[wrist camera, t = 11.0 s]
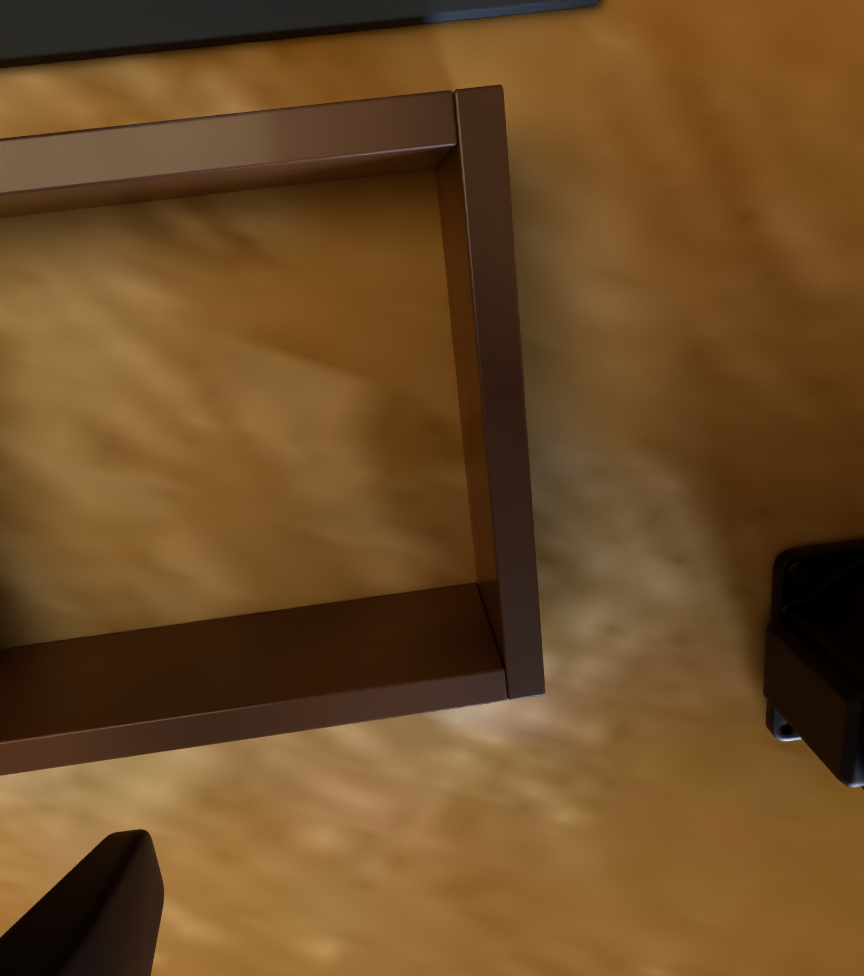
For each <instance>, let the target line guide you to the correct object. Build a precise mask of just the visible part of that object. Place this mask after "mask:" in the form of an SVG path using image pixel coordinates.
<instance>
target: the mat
mask: <svg viewBox="0 0 864 976" xmlns="http://www.w3.org/2000/svg"><path fill="white" fill-rule="evenodd" d="M598 1H599V0H0V67H8V66H18V65H28V64H37V63H47V62H57V61H66V60H76V59H86V58H95V57H105V56H115V55H124V54H134V53H144V52H153V51H163V50H173V49H182V48H192V47H202V46H211V45H221V44H231V43H241V42H250V41H260V40H270V39H279V38H289V37H299V36H308V35H318V34H328V33H337V32H347V31H357V30H366V29H376V28H386V27H395V26H405V25H415V24H424V23H434V22H444V21H453V20H463V19H473V18H482V17H492V16H502V15H511V14H521V13H531V12H540V11H550V10H560V9H569V8H579V7H589V6H594V5H595V4H596V3H597V2H598Z"/></svg>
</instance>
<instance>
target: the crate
mask: <svg viewBox="0 0 864 976" xmlns="http://www.w3.org/2000/svg"><path fill="white" fill-rule="evenodd" d="M435 167H436V176H437V186H438V196H439V206H440V216H441V226H442V236H443V246H444V256H445V266H446V276H447V286H448V296H449V306H450V316H451V326H452V336H453V346H454V356H455V366H456V376H457V386H458V396H459V406H460V416H461V426H462V436H463V446H464V456H465V466H466V476H467V486H468V496H469V506H470V516H471V526H472V536H473V546H474V556H475V566H476V576H477V584H476V583H473V584H466V585H459V586H452V587H445V588H437V589H430V590H423V591H416V592H409V593H402V594H395V595H387V596H380V597H373V598H366V599H359V600H352V601H345V602H337V603H330V604H323V605H316V606H309V607H302V608H295V609H287V610H280V611H273V612H266V613H259V614H252V615H245V616H237V617H230V618H223V619H216V620H209V621H202V622H195V623H187V624H180V625H173V626H166V627H159V628H152V629H145V630H137V631H130V632H123V633H116V634H109V635H102V636H95V637H87V638H80V639H73V640H66V641H59V642H52V643H45V644H37V645H30V646H23V647H16V648H9V649H2V650H0V776H1V775H8V774H14V773H21V772H28V771H35V770H42V769H48V768H55V767H62V766H69V765H75V764H82V763H89V762H96V761H102V760H109V759H116V758H123V757H129V756H136V755H143V754H150V753H156V752H163V751H170V750H177V749H184V748H190V747H197V746H204V745H211V744H217V743H224V742H231V741H238V740H244V739H251V738H258V737H265V736H271V735H278V734H285V733H292V732H298V731H305V730H312V729H319V728H325V727H332V726H339V725H346V724H353V723H359V722H366V721H373V720H380V719H386V718H393V717H400V716H407V715H413V714H420V713H427V712H434V711H440V710H447V709H454V708H461V707H467V706H474V705H481V704H488V703H494V702H501V701H506V700H507V698H508V699H509V700H514V699H521V698H528V697H534V696H541V695H544V694H545V681H544V666H543V652H542V637H541V623H540V609H539V594H538V580H537V566H536V551H535V537H534V522H533V508H532V494H531V479H530V465H529V450H528V436H527V422H526V407H525V393H524V379H523V364H522V350H521V335H520V321H519V307H518V292H517V278H516V264H515V249H514V235H513V220H512V206H511V192H510V177H509V163H508V148H507V134H506V120H505V105H504V91H503V87H502V86H501V85H493V86H484V87H475V88H465V89H457V90H455V91H454V92H452V91H450V90H447V91H437V92H428V93H419V94H410V95H400V96H391V97H382V98H372V99H363V100H354V101H345V102H335V103H326V104H317V105H308V106H298V107H289V108H280V109H271V110H261V111H252V112H243V113H233V114H224V115H215V116H206V117H196V118H187V119H178V120H169V121H159V122H150V123H141V124H131V125H122V126H113V127H104V128H94V129H85V130H76V131H67V132H57V133H48V134H39V135H30V136H20V137H11V138H2V139H0V218H3V217H12V216H21V215H30V214H39V213H48V212H57V211H65V210H74V209H83V208H92V207H101V206H110V205H119V204H127V203H136V202H145V201H154V200H163V199H172V198H181V197H190V196H198V195H207V194H216V193H225V192H234V191H243V190H252V189H260V188H269V187H278V186H287V185H296V184H305V183H314V182H322V181H331V180H340V179H349V178H358V177H367V176H376V175H384V174H393V173H402V172H411V171H420V170H429V169H434V168H435Z"/></svg>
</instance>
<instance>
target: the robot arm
mask: <svg viewBox="0 0 864 976" xmlns="http://www.w3.org/2000/svg"><path fill="white" fill-rule="evenodd" d="M797 562H798V566H797V568H796V569H795V570H794V571H792V572H789V569H790V567H791V566H792V565H793V564H795V563H797ZM763 693H764V696H765V697H766V698H767V710H766V726H767V728H768V729H769V731H770V732H771V733H772V734H773V735H774V737H775V738H776V739H778V740H780V741H791V740H798V739H803V740H804V741H805V743H806V744H807V745H808V746H809V747H810V748H811V749H812V751H813V752H814V753H815V754H816V755H817V756H818V757H819V759H820V760H821V761H822V762H823V763H824V764H825V765H826V766H827V768H828V769H829V770H830V771H831V772H832V773H833V774H834V776H835V777H836V778H837V779H838V780H839V781H841V782H842V783H843V784H845V785H846V786H847V787H849V788H851V787H857V786H861V787H862V788H863V790H864V539H859V540H852V541H845V542H838V543H831V544H824V545H816V546H809V547H802V548H795V549H790V550H787V551H784V552H783V553H781V554H780V555H779V556H778V557H777V559H776V560H775V563H774V567H773V586H772V607H771V620H770V622H769V624H768V625H767V627H766V645H765V666H764V688H763ZM785 722H788V723H787V724H786V725H784V726H782V727H781V725H782V724H783V723H785ZM163 903H164V885H163V880H162V876H161V872H160V868H159V865H158V861H157V857H156V853H155V849H154V845H153V842H152V838H151V836H150V834H149V833H148V832H147V831H146V830H143V829H139V830H131V831H123V832H116V833H112V834H110V835H108V836H107V837H106V838H105V839H104V840H102V841H101V842H100V843H99V844H98V845H97V846H96V847H95V848H94V849H93V850H92V851H91V852H90V853H89V854H88V855H87V856H86V857H85V858H84V859H82V860H81V861H80V862H79V863H78V864H77V865H76V866H75V867H74V868H73V869H72V870H71V871H70V872H69V873H68V874H67V875H66V876H65V877H64V878H62V879H61V880H60V881H59V882H58V883H57V884H56V885H55V886H54V887H53V888H52V889H51V890H50V891H49V892H48V893H47V894H46V895H45V896H44V897H42V898H41V899H40V900H39V901H38V902H37V903H36V904H35V905H34V906H33V907H32V908H31V909H30V910H29V911H28V912H27V913H26V914H25V915H24V916H22V917H21V918H20V919H19V920H18V921H17V922H16V923H15V924H14V925H13V926H12V927H11V928H10V929H9V930H8V931H7V932H6V933H5V934H4V935H2V936H1V937H0V976H151V970H152V965H153V959H154V954H155V948H156V942H157V937H158V931H159V926H160V920H161V915H162V909H163Z"/></svg>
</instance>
